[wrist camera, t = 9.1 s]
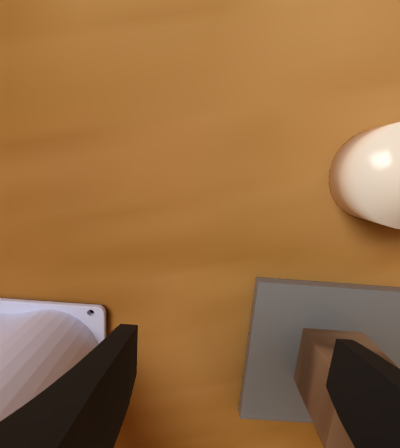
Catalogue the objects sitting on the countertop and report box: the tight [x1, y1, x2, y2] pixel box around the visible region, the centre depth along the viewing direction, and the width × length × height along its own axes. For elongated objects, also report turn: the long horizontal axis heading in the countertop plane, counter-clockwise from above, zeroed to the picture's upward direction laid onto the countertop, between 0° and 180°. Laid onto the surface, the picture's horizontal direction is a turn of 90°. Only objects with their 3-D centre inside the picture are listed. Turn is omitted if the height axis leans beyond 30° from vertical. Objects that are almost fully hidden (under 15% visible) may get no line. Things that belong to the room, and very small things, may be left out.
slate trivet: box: [238, 277, 400, 423], centre depth 19 cm, size 12×12×1 cm
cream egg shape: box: [329, 122, 400, 229], centre depth 15 cm, size 6×6×4 cm
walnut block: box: [294, 328, 398, 448], centre depth 16 cm, size 4×4×5 cm
